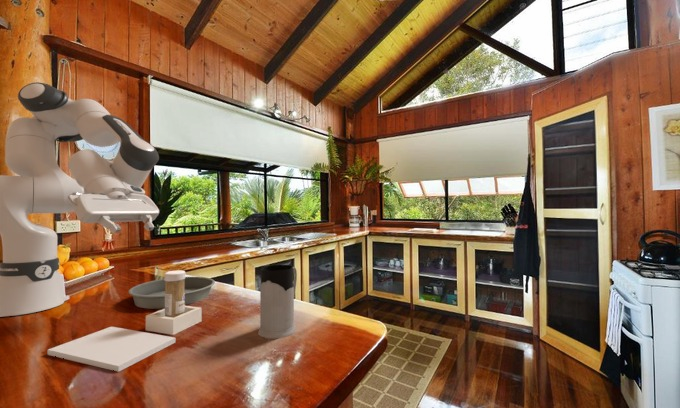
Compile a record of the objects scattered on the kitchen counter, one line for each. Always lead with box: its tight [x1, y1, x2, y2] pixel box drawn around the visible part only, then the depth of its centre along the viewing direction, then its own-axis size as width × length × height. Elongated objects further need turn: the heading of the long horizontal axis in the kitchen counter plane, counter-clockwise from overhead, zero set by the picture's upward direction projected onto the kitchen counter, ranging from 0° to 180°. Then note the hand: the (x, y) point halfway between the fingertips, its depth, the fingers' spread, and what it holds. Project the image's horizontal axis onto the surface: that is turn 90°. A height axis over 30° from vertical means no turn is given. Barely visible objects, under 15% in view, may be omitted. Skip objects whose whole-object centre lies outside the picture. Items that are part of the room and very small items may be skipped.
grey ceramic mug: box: [258, 264, 298, 340], centre depth 72 cm, size 9×14×15 cm, turn 162°
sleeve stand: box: [145, 305, 203, 336], centre depth 72 cm, size 9×9×4 cm
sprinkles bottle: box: [163, 269, 186, 318], centre depth 72 cm, size 5×5×13 cm
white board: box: [47, 326, 176, 373], centre depth 60 cm, size 20×12×1 cm, turn 72°
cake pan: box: [128, 276, 216, 310], centre depth 96 cm, size 25×25×4 cm
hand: (135, 230), depth 78 cm, fingers open, 8 cm apart
